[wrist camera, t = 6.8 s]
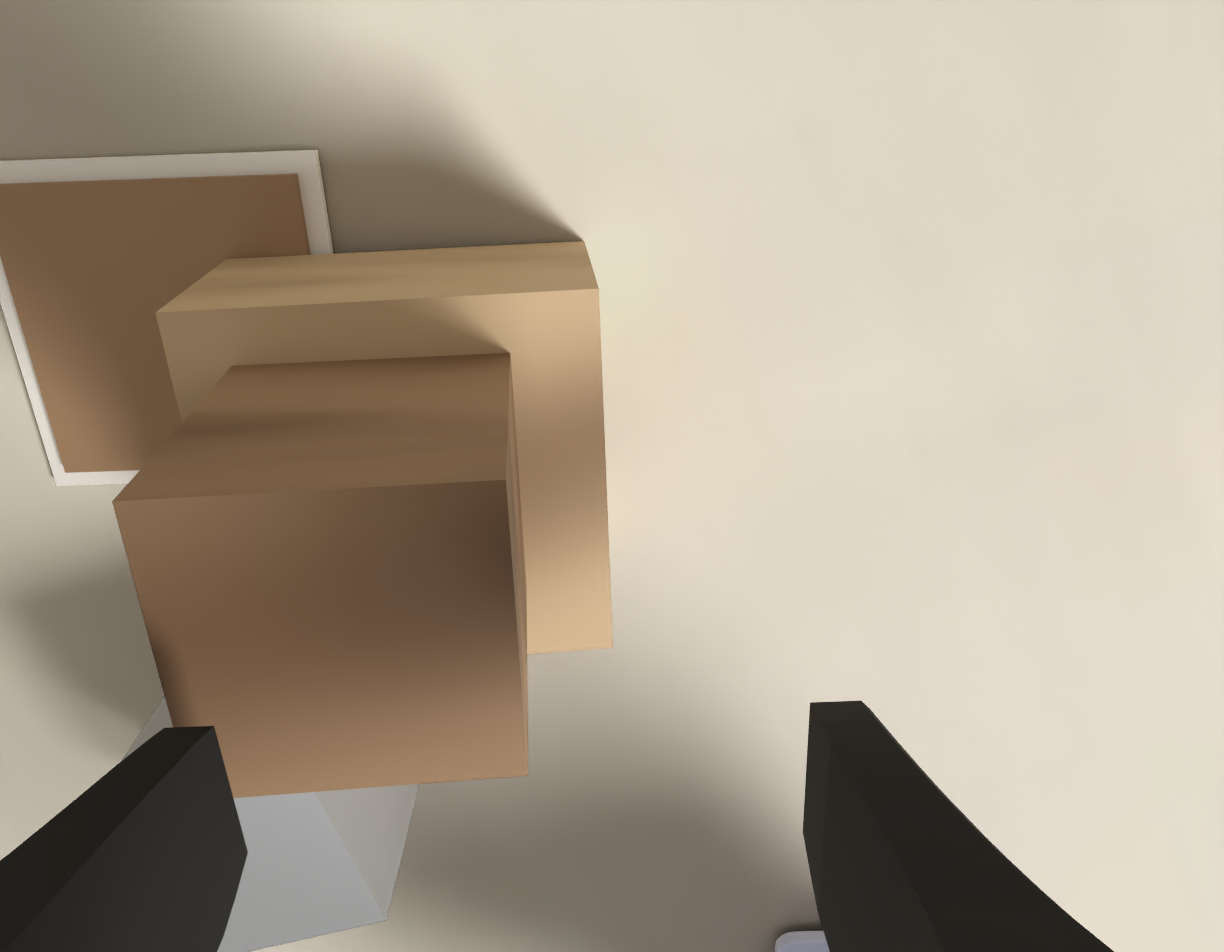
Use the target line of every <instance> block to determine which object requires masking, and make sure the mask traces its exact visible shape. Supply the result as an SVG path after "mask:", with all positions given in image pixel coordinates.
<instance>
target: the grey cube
mask: <svg viewBox="0 0 1224 952" xmlns="http://www.w3.org/2000/svg"><path fill="white" fill-rule="evenodd" d="M169 727H173V725H172V721H171V718H170V714H169V710H168V706H167V703H166V699H165V696H164V698H163V699H162V701H161V702H160V704H159V705H158V707H157V708H156V710H155V711H154V713H153V714H152V716H151V717H150V719H149V720H148V722H147V723H146V725H145V727H144V728H143V730H142V731H141V733H140V734H139V736H138V737H137V739H136V740H135V742H134V743H133V745H132V746H131V748H130V749H129V751H128V752H127V754H126V755H125V757H124V758H123V760H124V759H125V758H126V757H127V756H129V755H130V754H131V753H132V752H134V751H135V750H136V749H137V748H138V747H140V746H141V745H142V744H143V743H145V742H146V741H147V740H149V739H150V738H151V737H153V736H154V735H155V734H157V733H158V732H159V731H160V730H162V729H163V728H169ZM123 760H122V761H123ZM418 788H419V784H411V785H398V786H385V787H372V788H359V789H346V790H333V791H320V792H307V793H294V794H281V795H268V796H255V797H242V798H234V802H235V806H236V810H237V813H238V817H239V821H240V825H241V828H242V832H243V836H244V839H245V843H246V847H247V851H248V854H247V858H246V861H245V865H244V869H243V872H242V876H241V880H240V883H239V887H238V890H237V894H236V898H235V901H234V904H233V907H232V911H231V914H230V917H229V920H228V924H227V927H226V930H225V933H224V936H223V939H222V941H221V944H220V946H219V948H218V951H217V952H250V951H254V950H259V949H263V948H267V947H272V946H276V945H281V944H285V943H290V942H294V941H298V940H303V939H307V938H312V937H316V936H320V935H325V934H329V933H334V932H338V931H342V930H347V929H351V928H356V927H360V926H364V925H369V924H373V923H378V922H382V921H386V920H387V916H388V912H389V908H390V903H391V899H392V895H393V891H394V887H395V883H396V879H397V875H398V871H399V866H400V862H401V858H402V854H403V850H404V846H405V842H406V838H407V834H408V829H409V825H410V821H411V817H412V813H413V809H414V805H415V801H416V797H417V792H418Z"/></svg>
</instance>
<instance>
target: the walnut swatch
mask: <svg viewBox="0 0 1224 952" xmlns="http://www.w3.org/2000/svg"><path fill="white" fill-rule="evenodd" d="M317 254H334V252H333V246H332V239H331V233H330V226H329V220H328V213H327V207H326V200H325V194H324V187H323V181H322V174H321V168H320V161H319V155H318V150H292V151H263V152H234V153H206V154H177V155H149V156H120V157H92V158H63V159H34V160H6V161H0V303H1V307H2V310H3V313H4V316H5V320H6V323H7V326H8V329H9V333H10V336H11V339H12V342H13V346H14V349H15V352H16V355H17V359H18V362H19V365H20V369H21V372H22V375H23V378H24V382H25V385H26V388H27V391H28V395H29V398H30V401H31V404H32V408H33V411H34V414H35V417H36V421H37V424H38V427H39V431H40V434H41V437H42V440H43V444H44V447H45V450H46V453H47V457H48V460H49V463H50V466H51V470H52V473H53V476H54V479H55V483H56V486H75V485H105V484H128V483H129V482H130V481H131V480H132V479H133V478H134V476H135V475H136V474H137V473H138V472H139V471H140V470H141V468H142V467H143V466H144V465H145V464H146V463H147V462H148V461H149V459H150V458H151V457H152V456H153V455H154V454H155V453H156V451H157V450H158V449H159V448H160V447H161V446H162V445H163V443H164V442H165V441H166V440H167V439H168V438H169V437H170V436H171V434H172V433H173V432H174V431H175V430H176V429H177V428H178V426H179V425H180V424H181V423H182V422H181V417H180V413H179V409H178V405H177V401H176V397H175V392H174V388H173V384H172V380H171V376H170V372H169V367H168V363H167V359H166V355H165V351H164V346H163V342H162V338H161V334H160V330H159V326H158V321H157V317H156V313H155V312H157V311H158V310H159V309H161V308H162V307H163V306H165V305H166V304H167V303H169V302H170V301H171V300H173V299H174V298H175V297H177V296H178V295H179V294H181V293H182V292H183V291H185V290H186V289H187V288H189V287H190V286H191V285H193V284H194V283H195V282H197V281H198V280H199V279H201V278H202V277H203V276H205V275H206V274H207V273H209V272H210V271H211V270H213V269H214V268H215V267H217V266H218V265H219V264H221V263H222V262H223V261H225V260H226V259H238V258H257V257H277V256H297V255H317Z"/></svg>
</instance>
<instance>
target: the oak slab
mask: <svg viewBox="0 0 1224 952" xmlns="http://www.w3.org/2000/svg"><path fill="white" fill-rule="evenodd" d="M155 313H156V317H157V321H158V326H159V330H160V334H161V338H162V342H163V346H164V351H165V355H166V359H167V363H168V367H169V372H170V376H171V380H172V384H173V388H174V392H175V397H176V401H177V405H178V409H179V413H180V417H181V422H183V421H184V420H185V418H186V417H187V416H188V415H189V414H190V413H191V412H192V411H193V409H194V408H195V407H196V406H197V405H198V404H199V403H200V401H201V400H202V399H203V398H204V397H205V396H206V395H207V394H208V392H209V391H210V390H211V389H212V388H213V387H214V386H215V384H216V383H217V382H218V381H219V380H220V379H221V378H222V376H223V375H224V374H225V373H226V372H227V371H228V370H229V369H230V367H231V366H237V365H259V364H280V363H302V362H323V361H345V360H366V359H388V358H409V357H431V356H452V355H474V354H495V353H510V355H511V369H512V384H513V398H514V413H515V427H516V442H517V456H518V471H519V485H520V500H521V514H522V529H523V544H524V558H525V573H526V592H527V654H538V653H551V652H563V651H576V650H589V649H602V648H613V638H612V613H611V587H610V562H609V537H608V512H607V487H606V462H605V436H604V411H603V386H602V361H601V336H600V311H599V288H598V285H597V282H596V278H595V275H594V272H593V269H592V265H591V262H590V259H589V256H588V252H587V249H586V246H585V243H584V241H573V242H553V243H533V244H514V245H494V246H474V247H455V248H435V249H415V250H395V251H376V252H356V253H336V254H317V255H297V256H277V257H257V258H238V259H226V260H225V261H223V262H222V263H221V264H219V265H218V266H217V267H215V268H214V269H213V270H211V271H210V272H209V273H207V274H206V275H205V276H203V277H202V278H201V279H199V280H198V281H197V282H195V283H194V284H193V285H191V286H190V287H189V288H187V289H186V290H185V291H183V292H182V293H181V294H179V295H178V296H177V297H175V298H174V299H173V300H171V301H170V302H169V303H167V304H166V305H165V306H163V307H162V308H161V309H159V310H158V311H157V312H155Z"/></svg>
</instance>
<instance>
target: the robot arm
mask: <svg viewBox="0 0 1224 952" xmlns="http://www.w3.org/2000/svg"><path fill="white" fill-rule="evenodd" d="M803 835H804V840H805V846H806V851H807V857H808V862H809V868H810V873H811V879H812V884H813V889H814V894H815V899H816V904H817V910H818V914H819V918H820V921H821V925H822V928H823V931H793V932H787V933H785V934H783V935H781V936H780V937H779V938H778V939H777V941H776V943H775V952H1114V951H1112V950H1111V949H1110V948H1109V947H1108V946H1106V945H1105V944H1104V943H1103V942H1101V941H1100V940H1099V939H1098V938H1096V937H1095V936H1094V935H1093V934H1092V933H1090V932H1089V931H1088V930H1087V929H1085V928H1084V927H1083V926H1082V925H1081V924H1079V923H1078V922H1077V921H1076V920H1074V919H1073V918H1072V917H1071V916H1070V915H1069V914H1068V913H1066V912H1065V911H1064V910H1063V909H1062V908H1061V907H1059V906H1058V905H1057V904H1056V903H1055V902H1054V901H1053V900H1052V899H1051V898H1049V897H1048V896H1047V895H1046V894H1045V893H1044V892H1043V891H1042V890H1041V889H1039V888H1038V887H1037V886H1036V885H1035V884H1034V883H1033V882H1032V881H1031V880H1030V879H1029V878H1028V877H1027V876H1026V875H1024V874H1023V873H1022V872H1021V871H1020V870H1019V869H1018V868H1017V867H1016V866H1015V865H1014V864H1013V863H1012V862H1011V861H1010V860H1008V859H1007V858H1006V857H1005V856H1004V855H1003V854H1002V853H1001V852H1000V851H999V850H998V849H997V848H996V847H995V846H994V845H993V844H992V843H991V842H990V841H989V840H988V839H987V838H986V837H985V836H984V835H983V834H982V833H981V832H980V831H979V830H978V829H977V828H976V827H975V826H974V825H973V823H972V822H971V821H970V820H969V819H968V818H967V817H966V816H965V815H964V814H963V813H962V812H961V811H960V810H959V809H958V808H957V807H956V806H955V805H954V804H953V803H952V802H951V801H950V800H949V799H948V798H947V796H946V795H945V794H944V793H943V792H942V791H941V790H940V789H939V788H938V787H937V786H936V785H935V783H934V782H933V781H932V780H931V779H930V778H929V777H928V776H927V775H926V774H925V772H924V771H923V770H922V769H921V768H920V767H919V766H918V765H917V763H916V762H915V761H914V760H913V759H912V758H911V757H910V756H909V754H908V753H907V752H906V751H905V750H904V749H903V747H902V746H901V745H900V744H899V743H898V742H897V741H896V739H895V738H894V737H893V736H892V735H891V733H890V732H889V731H888V730H887V729H886V728H885V726H884V725H883V724H882V723H881V722H880V720H879V719H878V718H877V717H876V716H875V715H874V713H873V712H872V711H871V710H870V709H869V708H868V707H867V706H866V705H865V704H864V703H863V702H862V701H843V702H817V703H810V716H809V734H808V751H807V769H806V787H805V804H804V822H803ZM247 854H248V851H247V847H246V843H245V839H244V836H243V832H242V828H241V825H240V821H239V817H238V813H237V810H236V806H235V802H234V798H233V795H232V791H231V787H230V783H229V780H228V776H227V772H226V768H225V765H224V761H223V757H222V754H221V750H220V746H219V742H218V739H217V735H216V731H215V727H214V726H195V727H169V728H163V729H162V730H160V731H159V732H158V733H157V734H155V735H154V736H153V737H151V738H150V739H149V740H147V741H146V742H145V743H143V744H142V745H141V746H140V747H138V748H137V749H136V750H135V751H134V752H132V753H131V754H130V755H129V756H127V757H126V758H125V759H124V760H123V761H121V762H120V763H119V764H118V765H116V766H115V767H114V768H113V769H112V770H110V771H109V772H108V773H107V774H106V775H104V776H103V777H102V778H101V779H100V780H98V781H97V782H96V783H95V784H94V785H92V786H91V787H90V788H89V789H88V790H86V791H85V792H84V793H83V794H82V795H80V796H79V797H78V798H77V799H76V800H74V801H73V802H72V803H71V804H70V805H68V806H67V807H66V808H65V809H63V810H62V811H61V812H60V813H59V814H57V815H56V816H55V817H54V818H52V819H51V820H50V821H49V822H48V823H46V824H45V825H44V826H43V827H42V828H40V829H39V830H38V831H37V832H35V833H34V834H33V835H32V836H31V837H29V838H28V839H27V840H26V841H24V842H23V843H22V844H21V845H20V846H18V847H17V848H16V849H15V850H13V851H12V852H11V853H10V854H8V855H7V856H6V857H4V858H3V859H2V860H1V861H0V952H217V951H218V948H219V946H220V944H221V941H222V939H223V936H224V933H225V930H226V927H227V924H228V920H229V917H230V914H231V911H232V907H233V904H234V901H235V898H236V894H237V890H238V887H239V883H240V880H241V876H242V872H243V869H244V865H245V861H246V858H247Z"/></svg>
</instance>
